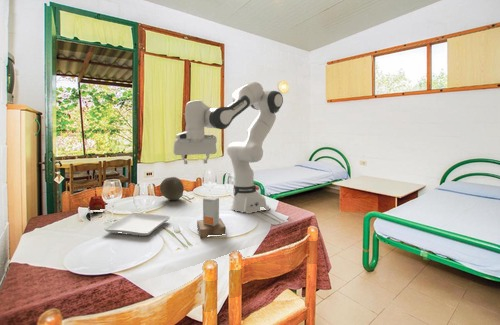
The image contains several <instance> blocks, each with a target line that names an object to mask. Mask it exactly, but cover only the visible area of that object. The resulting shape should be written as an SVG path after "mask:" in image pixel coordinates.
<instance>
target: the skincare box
mask: <svg viewBox="0 0 500 325" xmlns="http://www.w3.org/2000/svg"><path fill="white" fill-rule="evenodd" d="M202 199H203V200H202V210H203V211H202V220H203V224H207V225H212V226H215V225H217V224H218V223H219V218H220V198H219V197H217V196H216V197H215V196H209V195H207V196H205V197H203V198H202Z"/></svg>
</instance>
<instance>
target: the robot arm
mask: <svg viewBox="0 0 500 325" xmlns="http://www.w3.org/2000/svg"><path fill="white" fill-rule="evenodd" d="M231 98H232V99H231V100H232V103H230V104H228V105H227V106H220V107H211V106H208V105H207V104H205V103H204V102H203V100H199V99H198V100H191V101H188V102H187V103H186V104H185V109H184V110H185V111H184V119H185V120H184V121H185V127H184V128H185V129H184V131H182V132H179V133H176V135H175V138H176V139H175V140H174V143H173V154H174V155H175V156H181V159H182V161H183V164H184V165H188V159H186V158H185V157H186V156H187V155H188V156H189V155H190V156H191V155H205V158H204V159H203V164H208V160H209V158H210V155H215V154H216V153H217V152H218V150H217V142H218V140H217V137H216V136H215V135H214V134H205V128H207V129H219V130H225V129H227V128H228V127H229V126H231V123H232V121H234V119H235V118H236V117H237V116H239V115H240V114H242V113H243V112H244V111H245V110H247V109H248V108H249V107H250V108H252V109H254V110H258V111H259V113H258V115H257V116H256V118H254V120H253V122H252V123H251V125H250V126H249V127H248V129H247V131H246V133H247V137H246V140H245V141H241V140H240V141H238V140H237V141H233V142H231V143H229V145H228V146H227V148H226V153H227V155H228V156H229V158H230V161H231V163H232V167H233V173H234V174H233V176H234V177H233V178H234V180H233V181H234V183H233V187H232V189H233V190H232V191H233V200H232V205H231V208H230V209H231V210H232V211H234V210H235V211H234V212H237V211H243V212H247V213H249V214H253V213H252V212H255V213H258V212H257V211H260V207H264V208H265V209H266V211H269V209H271V208H270V205H268V204H267V202H266V198H265V196H263V195H262V194H261V193H259V190H260V186H258V185H255V184H254V179H255V178H254V177H255V176H254V170H253V169H252V166H251V165H250V163H257V162H260V161H261V160H262V158H263V156H264V149H263V143H264V141H265V139H266V137H267V136H268V134H269V133H270V131H271V129H272V128H273V126H274V124H275V121H276V119H277V117H276V116H277V115H276V114H277V113H278V112H279V111H280V109H281V108H282V105H283V104H284V103H283V102H284V97H283V94H282V93H281V92H280V91H277V90H264V88H263V86H262V84H260V83H259V82H257V81H254V82H250V83H249V82H248V83H247V84H245V85H243V86H241V87H239V88H238V89H236V90H235V91H234V92H233V93H232V97H231ZM243 212H242V213H243ZM247 213H246V214H247Z"/></svg>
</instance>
